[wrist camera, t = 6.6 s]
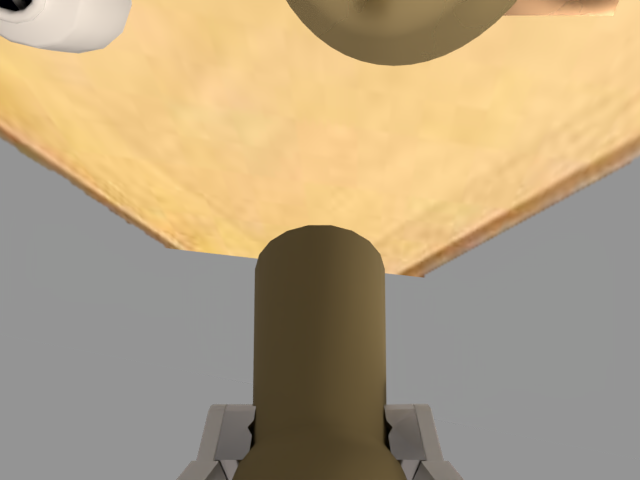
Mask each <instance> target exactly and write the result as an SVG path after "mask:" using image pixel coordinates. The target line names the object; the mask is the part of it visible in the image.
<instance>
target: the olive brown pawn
mask: <svg viewBox="0 0 640 480" xmlns="http://www.w3.org/2000/svg"><path fill="white" fill-rule="evenodd" d="M253 404H255V406H256V413H255V424H254V428H253V432H252V438H253V447H252V448H251V450H250V451H249V452H248V453H247V455H246V456H245V457H244V458H243V459H242V461H241V462H240V463H239V465H238V467H237V469H236V471H235V473H234V476H233V478H232V480H407V478H406V475H405V473H404V471H403V469H402V467H401V465H400V463H399V462H398V461H397V459H396V458H395V457H394V456H393V454H392V453H391V452H390V451H389V450H388V448H387V443H386V442H387V430H386V426H385V417H384V405H387V403H386V317H385V268H384V264H383V261H382V258H381V254H380V253H379V252H378V251H377V249H376V248H375V247H374V246H373V245H372V243H371V242H370V241H369V240H367V239H365V238H364V237H362V236H360V235H359V234H357V233H355V232H354V231H352V230H348V229H344V228H340V227H336V226H332V225H307V226H303V227H299V228H296V229H292V230H288V231H286V232H284V233H283V234H281V235H279V236H278V237H276V238H274V239H273V240H271V241H270V242H269V243H268V244H267V246H266V247H265V248H264V249H263V250H262V252H261V253H260V254H259V257H258V260H257V264H256V267H255V293H254V361H253Z"/></svg>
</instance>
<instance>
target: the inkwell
mask: <svg viewBox="0 0 640 480" xmlns="http://www.w3.org/2000/svg"><path fill="white" fill-rule="evenodd" d="M131 6H132V0H0V36H2V37H3V38H5V39H7V40H9V41H10V42H14V43H18V44H22V45H26V46H31V47H35V48H39V49H45V50H52V51H60V52H69V53H84V52H89V51H94V50H99V49H103V48H105V47H106V46H107V45H109V44H110V43H111V42H112V41H113V40H114V39H115V38H117V37H118V36H119V35H120V34H121V33H122V32H123V30H124V27H125V24H126V21H127V18H128V15H129V12H130V9H131Z"/></svg>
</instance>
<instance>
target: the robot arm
mask: <svg viewBox="0 0 640 480" xmlns="http://www.w3.org/2000/svg"><path fill="white" fill-rule="evenodd" d="M255 413H256V406H255V404H213V405H211V406H210V408H209V411H208V414H207V418H206V422H205V426H204V430H203V435H202V439H201V443H200V447H199V451H198V455H197V459H196V461H191V462H190V463H189V465H188V466H187V467H186V468H185V470H184V471H183V472H182V473H181V474H180V476H179V477H178V478H177V479H176V480H232V478H233V476H234V473H235V471H236V469H237V467H238V465H239V463H240V462H241V461H242V459H243V458H244V457H245V456H246V455H247V453H248V452H249V451H250V450H251V448H252V447H253V438H252V432H253V428H254V424H255ZM384 417H385V426H386V430H387V442H386V443H387V448H388V450H389V451H390V452H391V453H392V454H393V456H394V457H395V458H396V459H397V461H398V462H399V463H400V465H401V467H402V469H403V471H404V473H405V475H406V478H407V480H464V479H463V478H462V477H461V476H460V474H459V473H458V472H457V471H456V469H455V468H454V467H453V466H452V465H451V463H450V462H449V461H444V459H443V455H442V451H441V447H440V443H439V438H438V434H437V430H436V426H435V422H434V418H433V414H432V410H431V408H430V406H429V405H428V404H390V405H384Z"/></svg>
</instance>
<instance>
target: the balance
mask: <svg viewBox="0 0 640 480" xmlns="http://www.w3.org/2000/svg"><path fill="white" fill-rule="evenodd" d="M286 1H287V3H288V4H289V6H290V7H291V9H292V10H293V11H294V13H295V14H296V15H297V16H298V18H299V19H300V20H301V21H302V23H303V24H304V25H305V26H306V27H307V28H308V29H309V30H310V31H311V32H312V33H313V34H314V35H315V36H317V37H318V38H319V39H321V40H322V41H323V42H325V43H326V44H327V45H329V46H330V47H331V48H333V49H335V50H337V51H339V52H341V53H342V54H344V55H346V56H349V57H351V58H354V59H357V60H359V61H363V62H367V63H372V64H376V65H388V66H401V65H412V64H417V63H422V62H427V61H430V60H433V59H436V58H439V57H442V56H444V55H447V54H449V53H451V52H453V51H455V50H457V49H459V48H461V47H463V46H464V45H466V44H467V43H469V42H471V41H472V40H474V39H475V38H477V37H478V36H480V35H481V34H482V33H483V32H485V31H486V30H487V29H488V28H490V27H491V26H492V25H493V24H495V23H496V22H497V21H498V20H499V19H500V18H501V17H502V16H613V14H614V11H615V9H616V7H617V4H618V2H619V0H286Z"/></svg>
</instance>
